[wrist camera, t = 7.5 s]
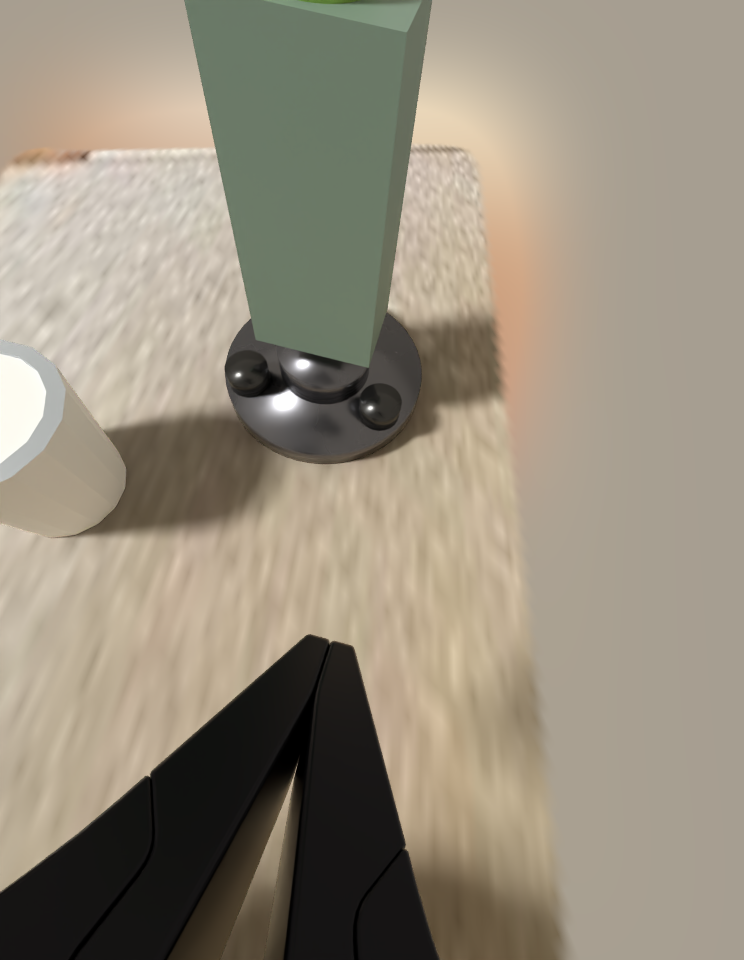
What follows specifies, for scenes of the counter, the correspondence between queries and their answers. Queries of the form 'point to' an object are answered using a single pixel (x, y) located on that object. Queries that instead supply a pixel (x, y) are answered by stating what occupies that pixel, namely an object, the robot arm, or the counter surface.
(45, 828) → the counter surface
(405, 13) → the dome-topped green pillar
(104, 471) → the white cup
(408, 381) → the base
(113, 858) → the robot arm
